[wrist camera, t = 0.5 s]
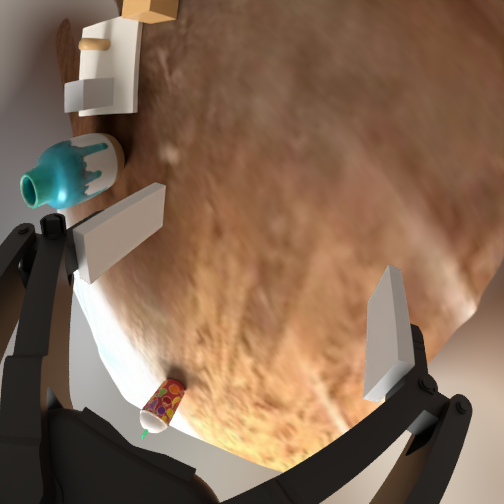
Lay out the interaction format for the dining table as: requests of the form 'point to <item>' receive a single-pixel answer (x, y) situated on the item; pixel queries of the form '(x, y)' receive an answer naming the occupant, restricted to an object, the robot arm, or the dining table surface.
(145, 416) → the smoothie
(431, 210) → the dining table surface
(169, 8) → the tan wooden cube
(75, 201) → the vase
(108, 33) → the plate
